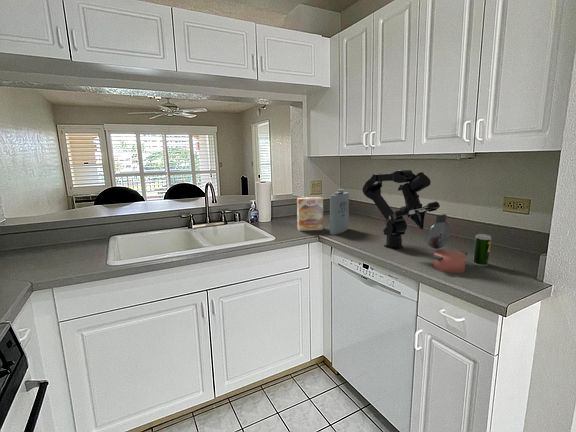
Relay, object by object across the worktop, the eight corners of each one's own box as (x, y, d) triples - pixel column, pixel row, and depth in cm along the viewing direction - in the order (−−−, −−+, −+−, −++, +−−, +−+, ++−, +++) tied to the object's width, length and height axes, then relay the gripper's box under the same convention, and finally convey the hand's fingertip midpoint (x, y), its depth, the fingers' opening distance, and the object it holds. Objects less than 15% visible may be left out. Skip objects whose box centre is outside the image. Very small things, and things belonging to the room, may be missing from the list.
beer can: (473, 265, 125) (475, 236, 122) (472, 261, 129) (475, 233, 127) (488, 267, 122) (492, 237, 120) (487, 263, 127) (491, 234, 124)
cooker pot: (421, 265, 125) (422, 251, 124) (449, 260, 130) (450, 246, 129) (445, 276, 114) (447, 260, 113) (475, 269, 120) (476, 254, 119)
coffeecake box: (298, 231, 186) (298, 199, 182) (297, 228, 193) (296, 197, 189) (323, 229, 188) (323, 198, 184) (320, 227, 195) (320, 196, 191)
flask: (335, 235, 176) (336, 191, 171) (328, 233, 178) (329, 190, 174) (350, 229, 189) (351, 188, 184) (343, 228, 192) (344, 187, 187)
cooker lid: (427, 250, 124) (425, 249, 125) (448, 246, 128) (446, 246, 129) (431, 216, 120) (429, 215, 121) (453, 213, 124) (451, 213, 125)
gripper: (427, 196, 144) (438, 228, 140) (387, 206, 146) (397, 237, 142) (434, 188, 134) (446, 222, 129) (390, 199, 135) (401, 233, 131)
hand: (422, 229), depth 133 cm, fingers closed
